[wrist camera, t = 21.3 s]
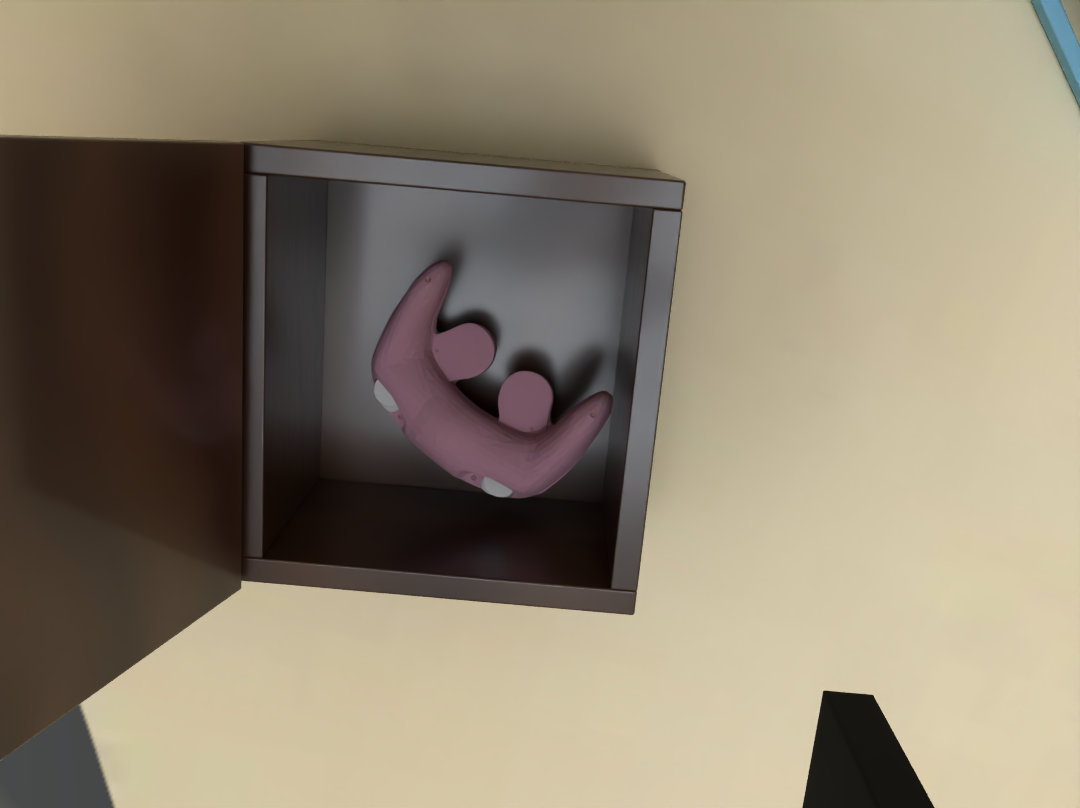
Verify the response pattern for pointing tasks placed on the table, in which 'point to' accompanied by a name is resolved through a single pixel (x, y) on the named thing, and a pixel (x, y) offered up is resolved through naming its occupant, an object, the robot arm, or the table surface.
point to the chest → (522, 345)
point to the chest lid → (114, 408)
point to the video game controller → (454, 420)
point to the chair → (1061, 40)
